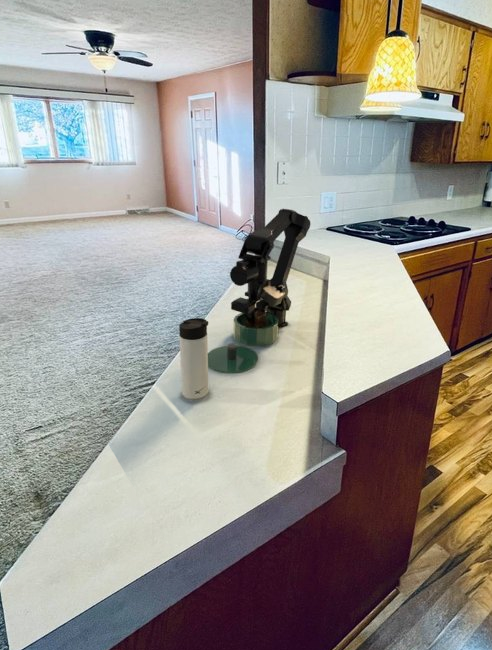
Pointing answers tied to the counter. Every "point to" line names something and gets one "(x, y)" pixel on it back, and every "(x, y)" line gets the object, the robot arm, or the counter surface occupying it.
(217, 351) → the lid
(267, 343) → the pot
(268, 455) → the counter surface
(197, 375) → the travel mug
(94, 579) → the counter surface
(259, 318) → the block
